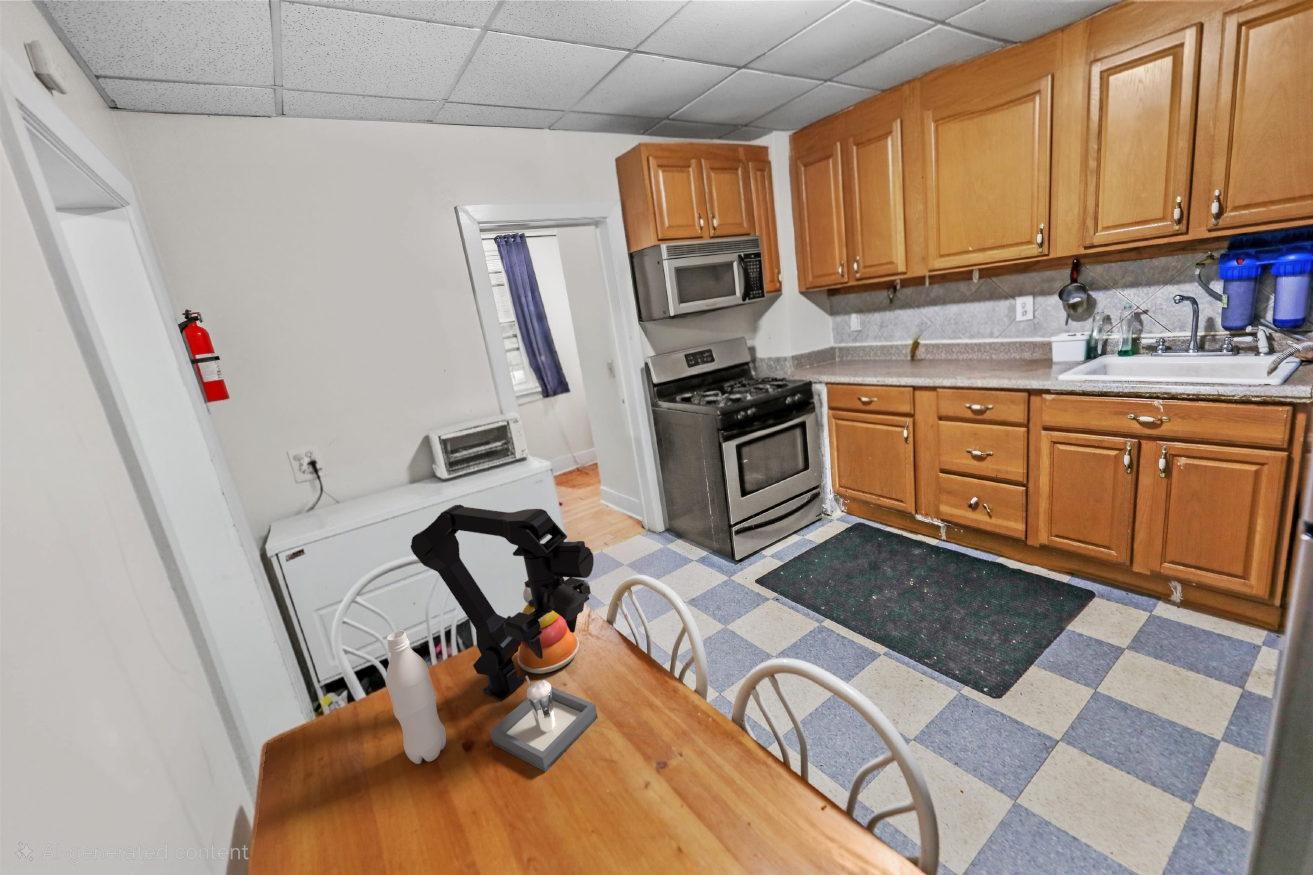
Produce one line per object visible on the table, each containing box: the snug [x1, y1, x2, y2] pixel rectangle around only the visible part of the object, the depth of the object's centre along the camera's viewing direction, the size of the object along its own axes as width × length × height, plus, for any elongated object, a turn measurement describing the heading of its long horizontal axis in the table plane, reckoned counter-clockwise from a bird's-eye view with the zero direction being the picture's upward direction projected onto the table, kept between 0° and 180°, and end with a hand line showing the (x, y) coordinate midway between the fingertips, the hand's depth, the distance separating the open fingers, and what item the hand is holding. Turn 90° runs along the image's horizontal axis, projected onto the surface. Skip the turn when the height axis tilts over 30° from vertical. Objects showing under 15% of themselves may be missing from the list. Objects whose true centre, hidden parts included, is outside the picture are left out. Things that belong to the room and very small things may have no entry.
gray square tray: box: [489, 686, 599, 773], centre depth 102 cm, size 14×14×3 cm
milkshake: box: [525, 675, 555, 733], centre depth 101 cm, size 5×5×10 cm
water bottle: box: [385, 629, 447, 765], centre depth 98 cm, size 7×7×25 cm
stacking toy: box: [516, 586, 580, 675], centre depth 123 cm, size 14×14×20 cm
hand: (556, 644), depth 108 cm, fingers open, 9 cm apart
